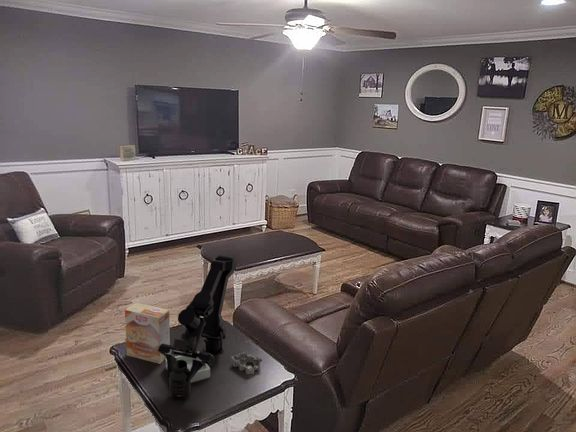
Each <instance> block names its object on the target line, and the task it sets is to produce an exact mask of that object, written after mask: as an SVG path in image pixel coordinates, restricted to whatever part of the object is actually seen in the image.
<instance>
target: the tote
mask: <svg viewBox="0 0 576 432" xmlns="http://www.w3.org/2000/svg"><path fill="white" fill-rule="evenodd" d="M196 351H197V353H198V354H199V353H200V351H199V350H196ZM191 355H192V354H191ZM175 358H176V359H177V360H184V361H186V362H187V368H188V369H189V370H191V367H192V363H193V359H194V358H189V357H184V356H179V355H175ZM177 360H176V361H177ZM194 360H196V359H194ZM165 369H166V370H167V359H165ZM208 378H211V368H210V365H209V364H206V366H202V367H201V369H200V370H199V371H198V372H197V373H196V374H195V375H194V377H193V378H192V379H191V380H190V384H191V383H195V382H199V381H202V380H205V379H208Z"/></svg>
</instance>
